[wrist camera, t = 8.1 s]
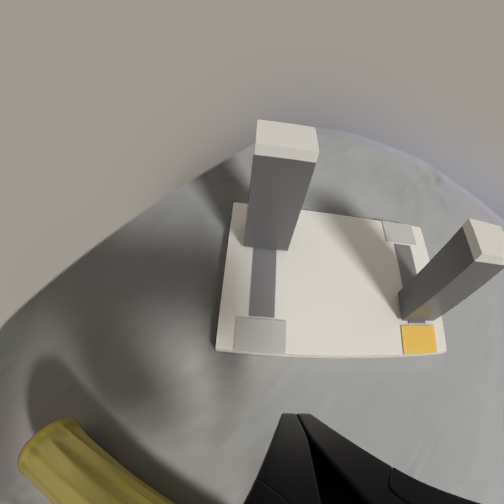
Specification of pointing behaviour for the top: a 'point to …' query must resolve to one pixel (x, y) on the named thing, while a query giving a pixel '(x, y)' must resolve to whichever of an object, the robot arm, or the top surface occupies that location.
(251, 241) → the switch
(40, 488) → the vase
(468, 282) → the switch
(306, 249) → the switch board
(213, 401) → the top surface
